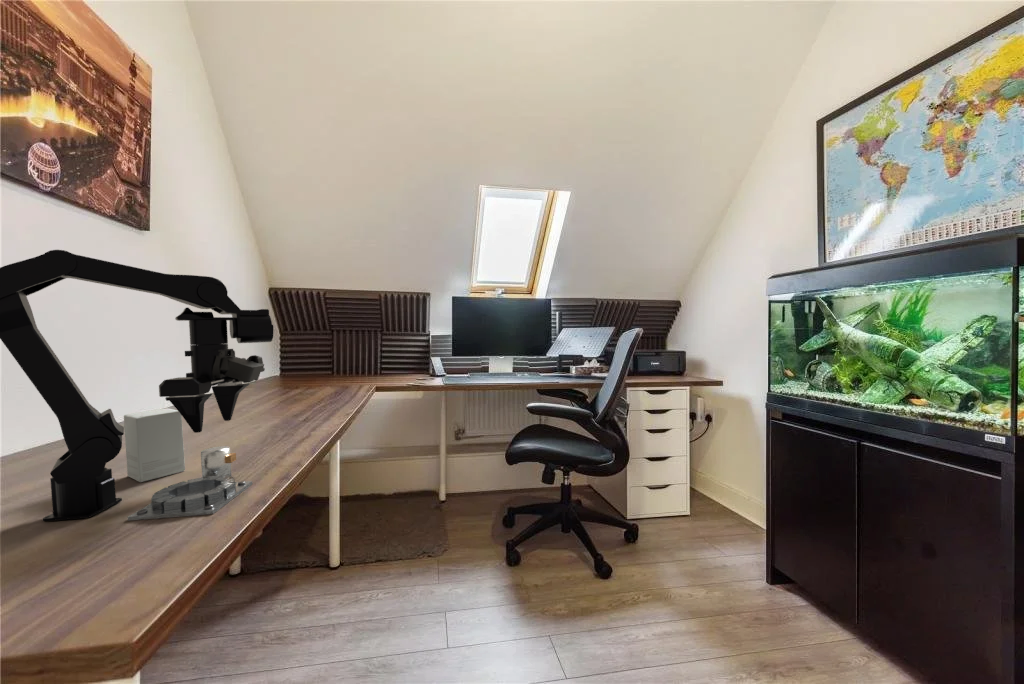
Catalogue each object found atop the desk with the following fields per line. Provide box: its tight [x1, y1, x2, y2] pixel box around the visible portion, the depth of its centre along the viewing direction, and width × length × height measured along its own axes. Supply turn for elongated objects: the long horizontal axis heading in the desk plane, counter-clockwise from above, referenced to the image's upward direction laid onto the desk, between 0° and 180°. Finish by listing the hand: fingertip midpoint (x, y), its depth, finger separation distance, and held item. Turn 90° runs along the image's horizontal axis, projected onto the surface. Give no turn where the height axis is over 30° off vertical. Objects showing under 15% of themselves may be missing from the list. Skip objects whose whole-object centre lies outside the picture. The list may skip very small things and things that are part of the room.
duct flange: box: [126, 475, 253, 521], centre depth 68 cm, size 12×12×2 cm
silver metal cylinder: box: [200, 445, 237, 478], centre depth 77 cm, size 5×4×6 cm
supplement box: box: [123, 407, 186, 483], centre depth 81 cm, size 7×7×13 cm
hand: (213, 426), depth 76 cm, fingers open, 9 cm apart
